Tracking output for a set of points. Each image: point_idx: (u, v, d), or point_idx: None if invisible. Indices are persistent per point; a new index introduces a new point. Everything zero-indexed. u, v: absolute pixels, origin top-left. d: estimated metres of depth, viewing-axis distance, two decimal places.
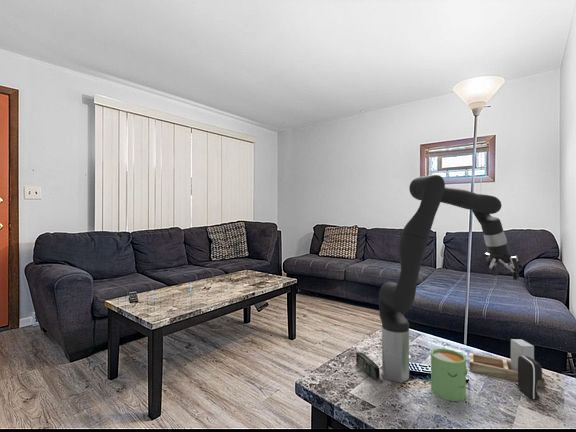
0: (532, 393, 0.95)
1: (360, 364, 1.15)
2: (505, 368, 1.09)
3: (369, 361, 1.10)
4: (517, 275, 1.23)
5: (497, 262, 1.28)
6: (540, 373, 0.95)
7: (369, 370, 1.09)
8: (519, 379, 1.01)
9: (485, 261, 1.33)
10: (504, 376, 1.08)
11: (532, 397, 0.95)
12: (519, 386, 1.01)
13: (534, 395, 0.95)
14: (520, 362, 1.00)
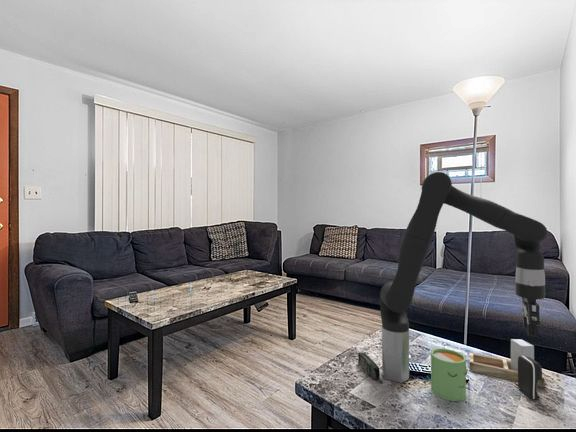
0: (532, 393, 0.95)
1: (362, 364, 1.15)
2: (505, 368, 1.09)
3: (370, 361, 1.10)
4: (532, 331, 0.94)
5: None
6: (540, 373, 0.95)
7: (369, 371, 1.09)
8: (519, 379, 1.01)
9: None
10: (504, 376, 1.08)
11: (532, 397, 0.95)
12: (519, 386, 1.01)
13: (534, 395, 0.95)
14: (520, 362, 1.00)
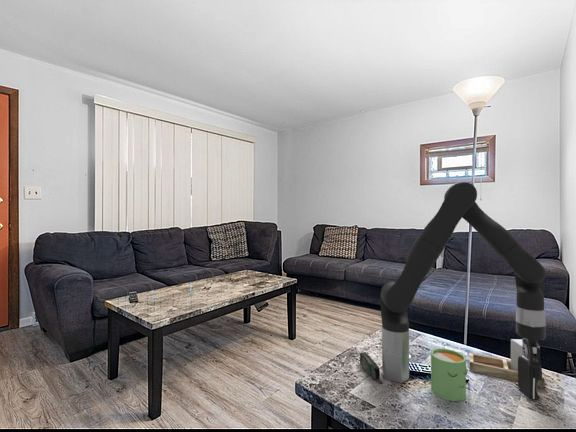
0: (532, 393, 0.95)
1: (363, 364, 1.15)
2: (505, 368, 1.09)
3: (370, 362, 1.10)
4: (533, 372, 0.94)
5: None
6: (540, 373, 0.95)
7: (370, 371, 1.09)
8: (519, 379, 1.01)
9: None
10: (504, 376, 1.08)
11: (532, 397, 0.95)
12: (519, 386, 1.01)
13: (534, 395, 0.95)
14: (520, 362, 1.00)
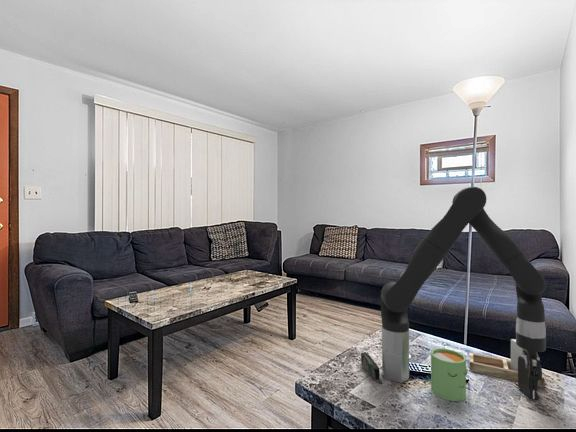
0: (532, 393, 0.95)
1: (364, 364, 1.15)
2: (505, 368, 1.09)
3: (371, 362, 1.10)
4: (533, 384, 0.94)
5: None
6: (540, 373, 0.95)
7: (370, 371, 1.09)
8: (519, 379, 1.01)
9: None
10: (504, 376, 1.08)
11: (532, 397, 0.95)
12: (519, 386, 1.01)
13: (533, 395, 0.95)
14: (520, 362, 1.00)
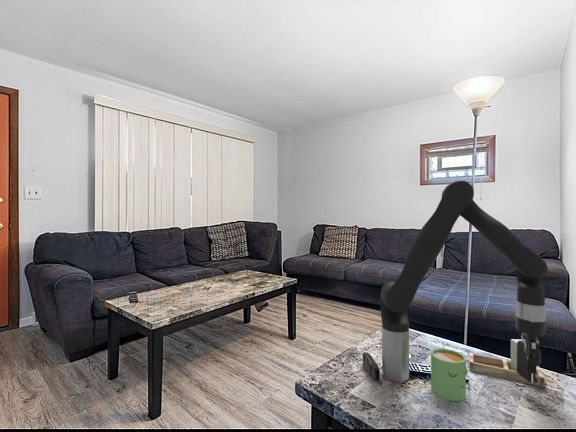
0: (531, 377, 0.95)
1: (365, 365, 1.15)
2: (505, 368, 1.09)
3: (371, 362, 1.10)
4: (531, 367, 0.94)
5: None
6: (539, 357, 0.95)
7: (370, 371, 1.08)
8: (518, 363, 1.01)
9: None
10: (504, 376, 1.08)
11: (530, 380, 0.95)
12: (518, 370, 1.01)
13: (532, 379, 0.95)
14: (520, 347, 1.00)
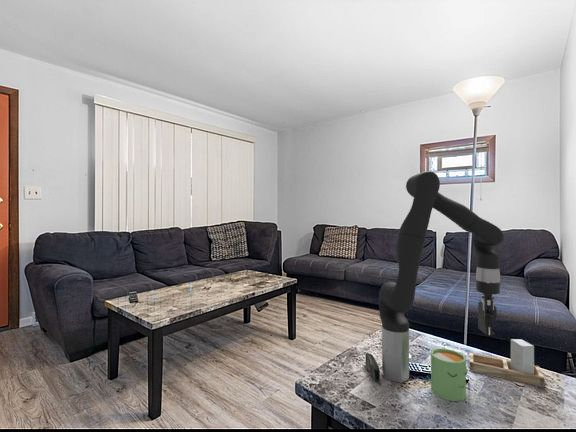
0: (488, 330, 1.11)
1: (367, 365, 1.15)
2: (505, 368, 1.09)
3: (372, 363, 1.09)
4: (488, 321, 1.10)
5: None
6: (495, 313, 1.11)
7: (371, 372, 1.08)
8: (479, 321, 1.17)
9: None
10: (504, 376, 1.08)
11: (488, 333, 1.11)
12: (479, 327, 1.17)
13: (489, 332, 1.11)
14: (480, 306, 1.16)
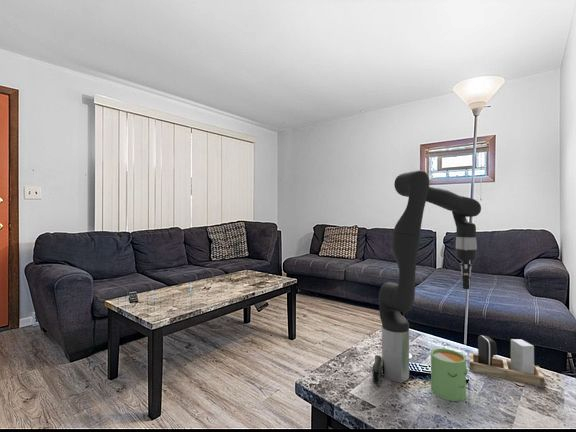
0: None
1: None
2: (505, 368, 1.09)
3: (375, 364, 1.08)
4: (465, 284, 1.22)
5: None
6: (495, 349, 1.11)
7: None
8: (479, 355, 1.17)
9: None
10: (504, 376, 1.08)
11: None
12: (479, 361, 1.17)
13: None
14: (480, 341, 1.16)
